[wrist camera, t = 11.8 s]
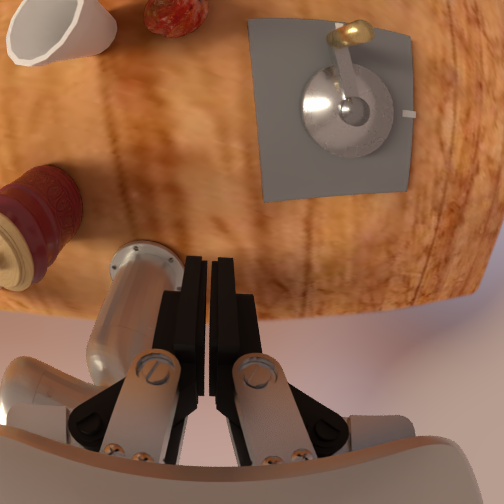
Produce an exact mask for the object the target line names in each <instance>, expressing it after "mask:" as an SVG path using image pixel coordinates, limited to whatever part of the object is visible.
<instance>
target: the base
mask: <svg viewBox="0 0 504 504" xmlns="http://www.w3.org/2000/svg"><path fill="white" fill-rule="evenodd" d="M347 24H349V23H343V22H334V21H325V20H313V19H293V18H261V19H248V21H247V26H248V36H249V46H250V55H251V66H252V76H253V86H254V97H255V108H256V119H257V131H258V142H259V154H260V166H261V179H262V191H263V200H264V203H266V202H276V201H285V200H295V199H306V198H317V197H329V196H342V195H356V194H371V193H389V192H407V187H408V179H409V170H410V160H411V148H412V132H413V118H416V111H413V63H412V49H411V38H410V36H407V35H404V34H400V33H396V32H392V31H387V30H383V29H378V28H373V29H374V32H375V36H374V38H373V40H372V41H370V42H366V43H361V44H357V45H353V46H349V47H348V49H349V53H350V57H351V61H352V64H357V65H361V66H363V67H365V68H367V69H369V70H371V71H372V72H373V73H375V74H376V75H377V76H378V77H379V78H380V79H381V80H382V81H383V82H384V84H385V85H386V87H387V89H388V91H389V93H390V95H391V98H392V102H393V109H394V117H393V124H392V127H391V130H390V132H389V135H388V136H387V138H386V140H385V141H384V142H383V143H382V144H381V145H380V147H378V148H377V149H376V150H375V151H373V152H371V153H370V154H367V155H365V156H361V157H356V158H346V157H340V156H337V155H334V154H332V153H330V152H328V151H327V150H325V149H324V148H322V147H321V146H319V145H318V144H317V143H315V142H314V141H313V140H312V139H311V137H310V136H309V135H308V133H307V132H306V130H305V128H304V126H303V124H302V121H301V117H300V111H299V102H300V96H301V92H302V90H303V87H304V85H305V84H306V82H307V81H308V79H309V78H310V77H311V76H312V75H313V74H314V73H315V72H317V71H318V70H320V69H322V68H324V67H326V66H329V65H332V61H331V57H330V53H329V49H328V46H327V42H326V35H327V34H328V33H329V32H331V31H333V30H335V29H337V28H340V27H342V26H344V25H347Z"/></svg>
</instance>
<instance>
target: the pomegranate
mask: <svg viewBox="0 0 504 504" xmlns="http://www.w3.org/2000/svg"><path fill="white" fill-rule="evenodd" d="M208 8H209V6H208V3H207V1H206V0H149V1H148V3H147V4H146V7H145V12H144V24H145V26H146V27H147V28H148V29H149V30H150V31H151V32H152V33H155V34H162V35H164V37H166V38H176V37H181V36H184V35H186V34H187V33H191V32H193V31H195V30H196V29H198V27H199V26H200V25H201V24H202V23H203V22H204V20H205V19H206V17H207V15H208Z"/></svg>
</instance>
